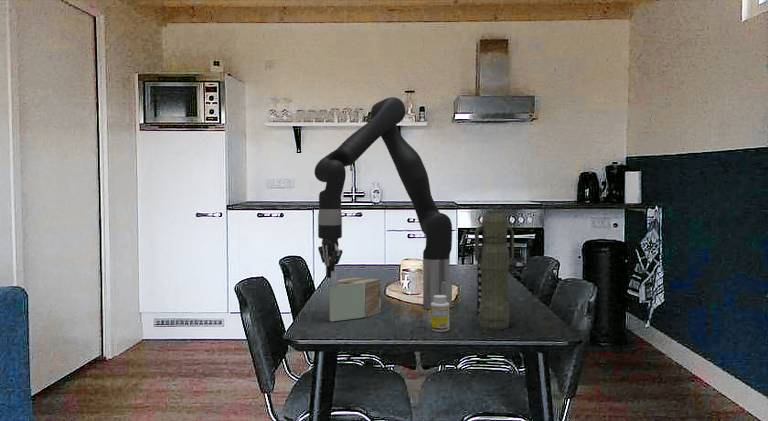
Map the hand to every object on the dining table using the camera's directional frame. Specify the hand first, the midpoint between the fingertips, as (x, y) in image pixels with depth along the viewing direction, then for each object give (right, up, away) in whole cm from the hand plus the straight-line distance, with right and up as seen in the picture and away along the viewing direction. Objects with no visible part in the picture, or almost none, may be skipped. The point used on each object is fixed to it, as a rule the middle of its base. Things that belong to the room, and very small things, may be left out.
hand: (330, 277), depth 210 cm
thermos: (+51, -14, -9) cm, 53 cm away
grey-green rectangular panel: (+6, -13, 0) cm, 14 cm away
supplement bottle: (+34, -14, -14) cm, 39 cm away
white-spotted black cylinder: (+52, -13, +6) cm, 54 cm away
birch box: (+8, -13, +11) cm, 19 cm away
